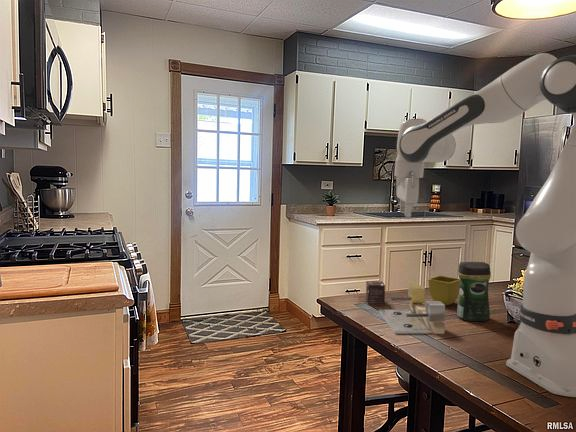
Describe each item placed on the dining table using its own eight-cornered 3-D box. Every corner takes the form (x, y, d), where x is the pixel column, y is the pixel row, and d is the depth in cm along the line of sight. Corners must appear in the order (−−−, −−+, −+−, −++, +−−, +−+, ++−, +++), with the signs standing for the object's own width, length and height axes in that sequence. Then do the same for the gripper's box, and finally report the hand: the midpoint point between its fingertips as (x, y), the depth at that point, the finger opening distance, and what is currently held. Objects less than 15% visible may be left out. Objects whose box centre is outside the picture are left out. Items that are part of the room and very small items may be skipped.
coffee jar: (482, 314, 144) (485, 259, 143) (492, 322, 136) (495, 264, 135) (453, 314, 145) (455, 259, 143) (461, 321, 137) (463, 264, 135)
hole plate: (428, 333, 126) (429, 330, 126) (394, 333, 126) (395, 330, 126) (409, 312, 146) (409, 309, 146) (379, 312, 146) (379, 309, 146)
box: (365, 300, 161) (366, 280, 161) (381, 300, 161) (382, 281, 160) (368, 304, 155) (368, 284, 155) (384, 305, 155) (385, 285, 154)
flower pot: (426, 302, 158) (427, 278, 157) (438, 298, 164) (439, 275, 163) (449, 308, 151) (450, 283, 151) (461, 303, 157) (462, 279, 156)
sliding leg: (424, 302, 146) (425, 288, 146) (393, 303, 146) (393, 288, 146) (420, 299, 150) (421, 285, 150) (390, 299, 150) (390, 285, 150)
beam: (446, 333, 126) (447, 307, 126) (410, 333, 126) (410, 307, 126) (420, 308, 150) (421, 286, 150) (390, 308, 150) (390, 286, 150)
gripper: (426, 173, 126) (421, 219, 128) (413, 171, 146) (409, 211, 148) (404, 172, 127) (399, 218, 129) (394, 170, 147) (391, 210, 149)
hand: (405, 214), depth 139 cm, fingers open, 8 cm apart
